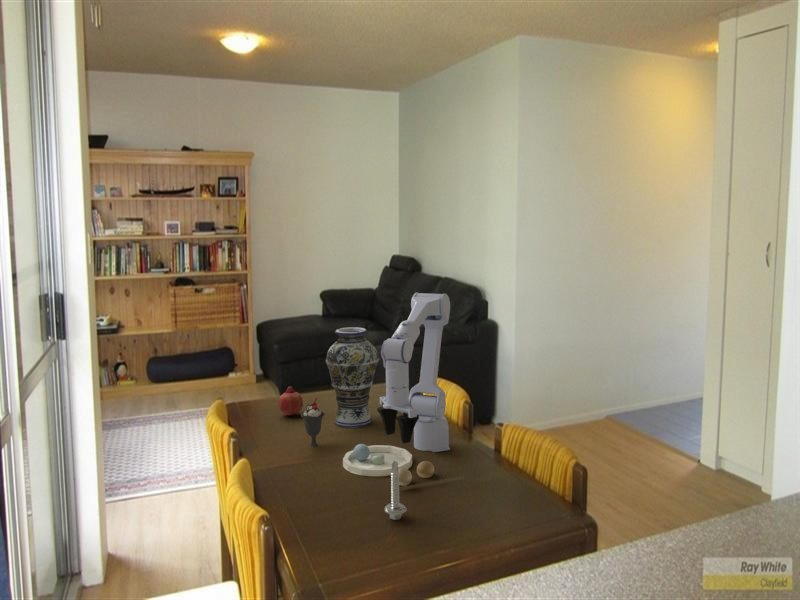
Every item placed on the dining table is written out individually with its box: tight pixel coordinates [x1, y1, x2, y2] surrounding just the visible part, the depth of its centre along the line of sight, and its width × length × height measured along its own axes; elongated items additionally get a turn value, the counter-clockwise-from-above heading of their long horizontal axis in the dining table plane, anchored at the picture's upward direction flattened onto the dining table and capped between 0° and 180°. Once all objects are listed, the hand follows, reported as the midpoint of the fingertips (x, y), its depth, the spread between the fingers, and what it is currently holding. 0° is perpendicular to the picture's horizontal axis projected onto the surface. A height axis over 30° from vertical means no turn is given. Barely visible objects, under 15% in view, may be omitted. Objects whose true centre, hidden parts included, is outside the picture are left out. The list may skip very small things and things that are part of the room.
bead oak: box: [416, 460, 435, 479], centre depth 167 cm, size 4×4×4 cm
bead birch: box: [398, 468, 413, 488], centre depth 162 cm, size 4×4×4 cm
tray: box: [342, 444, 413, 477], centre depth 176 cm, size 18×18×3 cm
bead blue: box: [352, 443, 370, 461], centre depth 177 cm, size 4×4×4 cm
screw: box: [384, 461, 407, 521], centre depth 145 cm, size 13×5×5 cm
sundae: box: [300, 397, 326, 448], centre depth 189 cm, size 7×7×15 cm
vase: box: [325, 326, 380, 429], centre depth 211 cm, size 17×17×30 cm
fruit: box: [277, 385, 304, 417], centre depth 220 cm, size 8×8×10 cm
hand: (398, 438), depth 168 cm, fingers open, 7 cm apart
